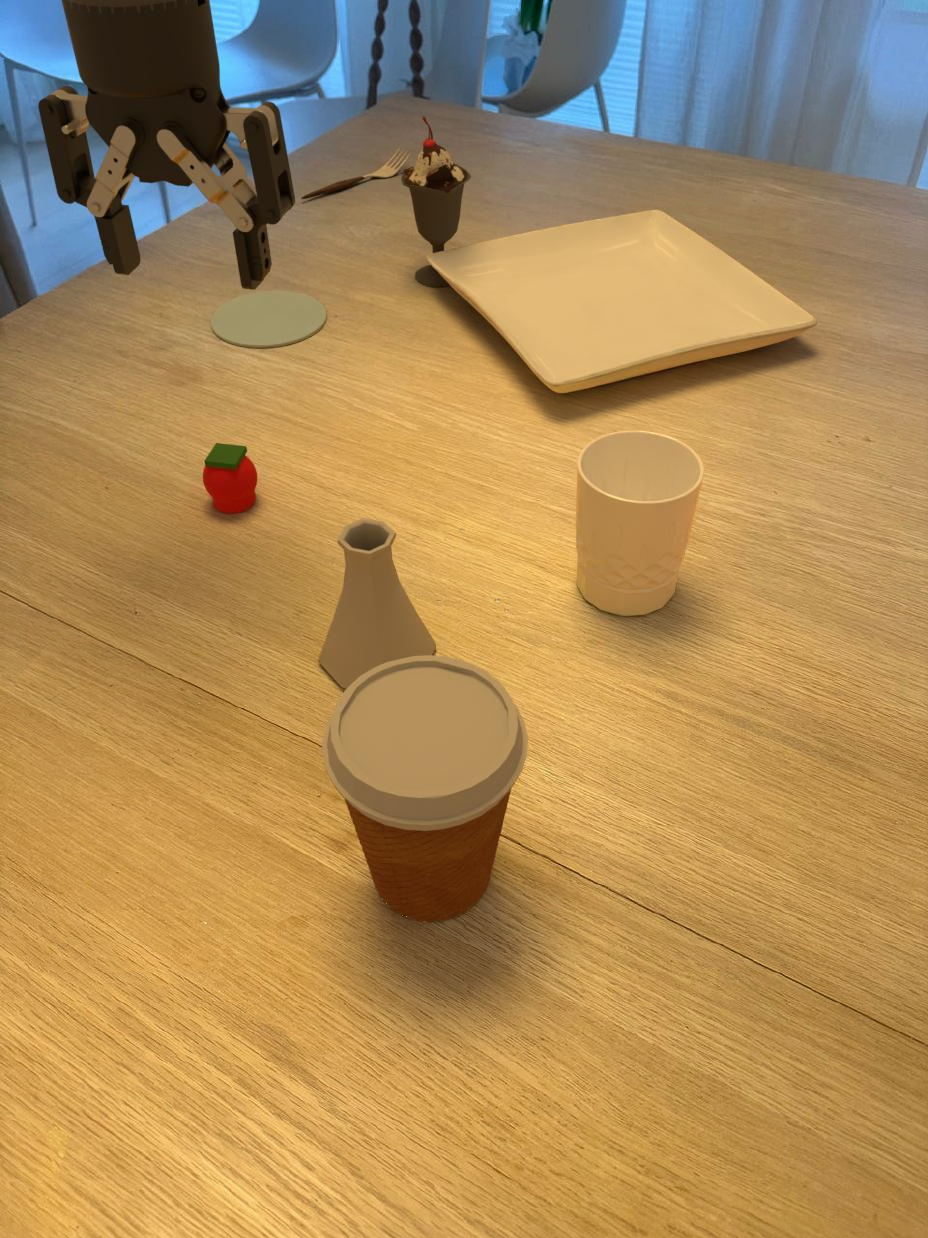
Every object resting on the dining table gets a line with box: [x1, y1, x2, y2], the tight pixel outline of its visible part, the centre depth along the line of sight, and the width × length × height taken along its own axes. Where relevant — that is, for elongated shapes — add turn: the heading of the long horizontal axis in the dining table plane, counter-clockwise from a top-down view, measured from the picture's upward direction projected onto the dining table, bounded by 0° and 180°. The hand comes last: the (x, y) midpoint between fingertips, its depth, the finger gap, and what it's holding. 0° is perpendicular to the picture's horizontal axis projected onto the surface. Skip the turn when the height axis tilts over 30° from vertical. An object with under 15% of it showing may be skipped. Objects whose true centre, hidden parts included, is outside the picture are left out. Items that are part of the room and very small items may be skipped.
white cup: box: [575, 429, 705, 617], centre depth 69 cm, size 8×8×10 cm
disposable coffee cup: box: [321, 654, 529, 923], centre depth 52 cm, size 10×10×12 cm
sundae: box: [400, 115, 472, 288], centre depth 102 cm, size 7×7×15 cm
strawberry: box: [202, 442, 258, 514], centre depth 79 cm, size 4×4×4 cm
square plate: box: [425, 209, 818, 394], centre depth 99 cm, size 27×27×4 cm
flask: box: [317, 517, 437, 689], centre depth 64 cm, size 7×7×10 cm
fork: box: [300, 147, 413, 200], centre depth 125 cm, size 3×16×2 cm, turn 133°
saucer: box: [210, 290, 328, 349], centre depth 101 cm, size 11×11×1 cm
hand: (191, 276), depth 66 cm, fingers open, 8 cm apart
